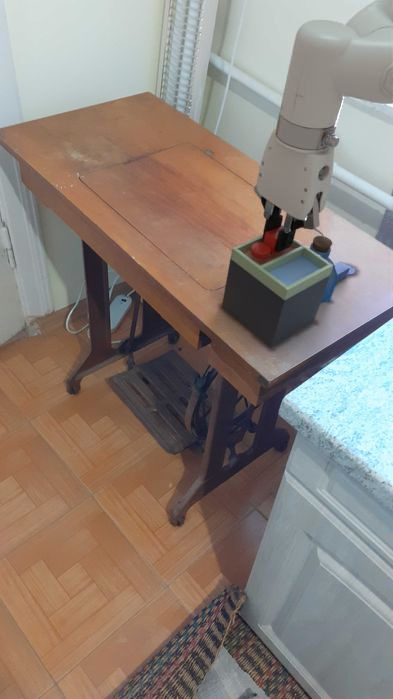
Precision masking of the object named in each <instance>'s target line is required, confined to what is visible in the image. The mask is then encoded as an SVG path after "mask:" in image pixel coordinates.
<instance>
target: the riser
mask: <svg viewBox="0 0 393 699" xmlns="http://www.w3.org/2000/svg"><path fill="white" fill-rule="evenodd" d="M329 277H330V276H328V277H326V278H324V279H323V280H321V281H319V282H317V283H315V284H313V285H312V286H310V287H308V288H306V289H304V290H303V291H301V292H299V293H297V294H295V295H294V296H292V297H290V298H288V299H286V300H284V299H282V298H281V297H280V296H278V295H277V294H276V293H274V292H273V291H272V290H271V289H269V288H268V287H267V286H265V285H264V284H263V283H262V282H260V281H259V280H258V279H256V278H255V277H254V276H252V275H251V274H250V273H249V272H247V271H246V270H245V269H243V268H242V267H241V266H240V265H238V264H237V263H236V262H234V261H233V260H232V259H231V258H229V264H228V269H227V276H226V280H225V287H224V292H223V298H222V304H221V307H222V309H224V310H225V311H227V312H228V313H229V314H230V315H231V316H233V317H234V318H235V319H236V320H237V321H238V322H240V323H241V324H242V325H243V326H244V327H245V328H247V329H248V330H249V331H250V332H251V333H253V334H254V335H255V337H257V338H259V340H260V341H262V342H263V343H264V344H266V345H267V346H268V347H269V349H270V348H271V349H272V348H274V347H275V346H277V345H278V344H281V343H282V342H283V341H285V340H287V339H288V338H290V337H292V336H293V335H295V334H296V333H298V332H300V331H301V330H303V329H305V328H306V327H308V326H310V325H311V324H313V323H314V322H315V319H316V316H317V313H318V311H319V308H320V305H321V303H320V302H321V299H322V297H323V294H324V291H325V288H326V285H327V283H328V280H329Z"/></svg>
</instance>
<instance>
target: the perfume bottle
mask: <svg viewBox="0 0 393 699" xmlns="http://www.w3.org/2000/svg"><path fill="white" fill-rule="evenodd" d="M332 246H333V241H332V240H331V238H329V237H328V236H324V235H317V236H314V237H313V238H312V242H311V244H310V245H309V247H308V248H309V249H311V250H312V251H313V252H315V253H316V254H318V255H319V256H321V257H322V258H324V259H325V260H327V261H328V262H329V263H330V264H332V265H333V268H332V271H331V274H330V277H329V280H328V283H327V285H326V288H325V291H324V294H323V297H322V299H321V302H320V304H324V303H329V302H331V299H332V298H333V297H332V296H333V293H334V292H335V289H336V286H337V283H338V281H337V280H338V275H337V272H336V269H335V266H334V265H335V262H334V261H333V260H331V258H330V254H331V252H332V248H331V247H332Z"/></svg>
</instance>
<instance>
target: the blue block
mask: <svg viewBox="0 0 393 699" xmlns="http://www.w3.org/2000/svg"><path fill="white" fill-rule="evenodd" d="M334 266H335V269H336V272H337V275H338V280H337V282H339V281H341V280H343V279H345V278H346V277H348V276H353V275H355V274H356V269H355V267H353V266H352V265H349V264H345V263H343V262H342V261H340V262H338V263H336V264H334Z"/></svg>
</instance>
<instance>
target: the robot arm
mask: <svg viewBox="0 0 393 699" xmlns="http://www.w3.org/2000/svg"><path fill="white" fill-rule="evenodd" d="M345 98H351V99H353V100H354V99H355V100H359V101H361V102H362V101H363V102H367V103H370V104H376V105H381V106H383V105H385V106H386V105H393V0H374V1H372V2H370V4H367V5H366V6H364V7H363V8H362V9H360V10H359V11H358V12H356V13H355V14H354V15H353V16H352V17H351V18H350V19H348V21H347V22H346V23H342V22H338V21H334V20H330V19H329V20H328V19H313V20H309V21H306V22H304V23H303V24H302V25H300V26H299V28H298V29H297V31H296V34H295V37H294V42H293V46H292V51H291V56H290V60H289V65H288V70H287V74H286V79H285V83H284V89H283V94H282V98H281V103H280V109H279V111H278V112H279V113H278V117H277V122H276V127H275V128H274V129H273V130H272V132H271V134H270V136H269V138H268V140H267V143H266V146H265V149H264V151H263V155H262V157H261V162H260V165H259V168H258V173H257V177H256V178H257V179H256V184H255V186H254V187H253V191H254V193H255V194H256V196H257V197H258V199H259V200H260V202H261V205H262V208H263V210H264V211H263V217H264V219H265V222H264V227H263V234H262V235H263V237H262V242H263V241H264V237H265V233H266V232H267V231H270V230H273V229H275V228H278V227H280V226H282V225H284V226H283V228H282V229H280V230H279V233H278V237H277V238H278V239H277V243H276V247H275V251H276V252H277V253H279V252H281V251H283V250H285V249H288V248H289V247H291V245H292V243H293V240H294V238H295V236H296V232H297V230H299V229H304V230H310V231H313V230H315V229H317V228H319V227H320V224H321V223H320V213H322V212H323V211H324V209H325V207H326V203H327V199H328V197H329V192H330V187H331V182H332V179H333V178H332V177H333V172H334V164H335V148H336V147H337V146H338V145H339V142H340V138H339V137H338V136H337V135H336V134H335V133H336V129H337V122H338V120H339V116H340V113H341V109H342V106H343V102H344V99H345ZM282 211H283V212H284V213H286V214H285V218H284V215H282ZM283 218H284V219H283ZM283 220H284V222H283Z"/></svg>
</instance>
